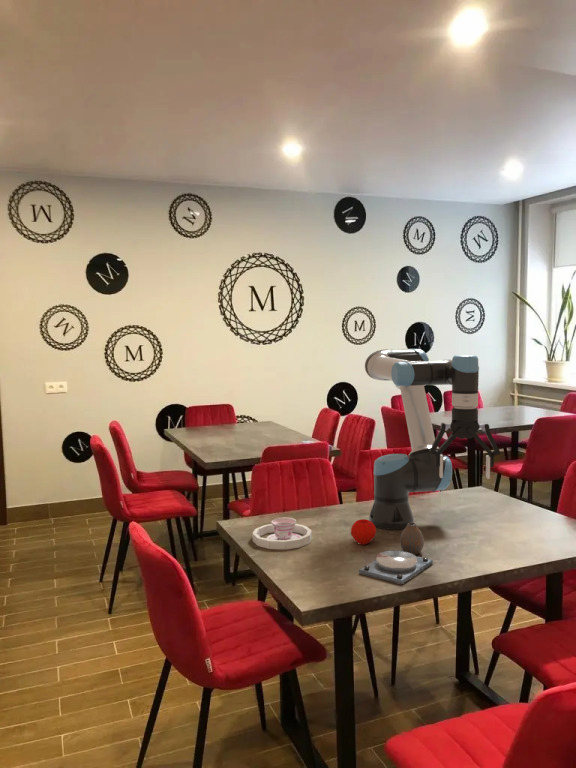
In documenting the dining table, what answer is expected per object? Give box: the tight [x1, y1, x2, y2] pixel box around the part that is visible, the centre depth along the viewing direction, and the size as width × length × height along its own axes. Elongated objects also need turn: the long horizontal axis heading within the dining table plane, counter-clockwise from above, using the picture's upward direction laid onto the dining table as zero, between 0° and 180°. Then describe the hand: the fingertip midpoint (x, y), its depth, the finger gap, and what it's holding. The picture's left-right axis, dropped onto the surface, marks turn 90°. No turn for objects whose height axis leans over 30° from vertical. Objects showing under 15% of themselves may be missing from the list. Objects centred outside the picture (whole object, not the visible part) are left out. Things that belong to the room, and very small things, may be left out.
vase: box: [399, 522, 425, 556], centre depth 182 cm, size 7×7×9 cm
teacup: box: [265, 516, 303, 540], centre depth 196 cm, size 12×12×6 cm
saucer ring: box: [251, 523, 313, 550], centre depth 196 cm, size 18×18×2 cm
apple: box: [350, 518, 377, 546], centre depth 191 cm, size 8×8×7 cm
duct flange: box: [358, 549, 434, 585], centre depth 169 cm, size 13×18×3 cm
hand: (464, 477), depth 184 cm, fingers open, 13 cm apart
